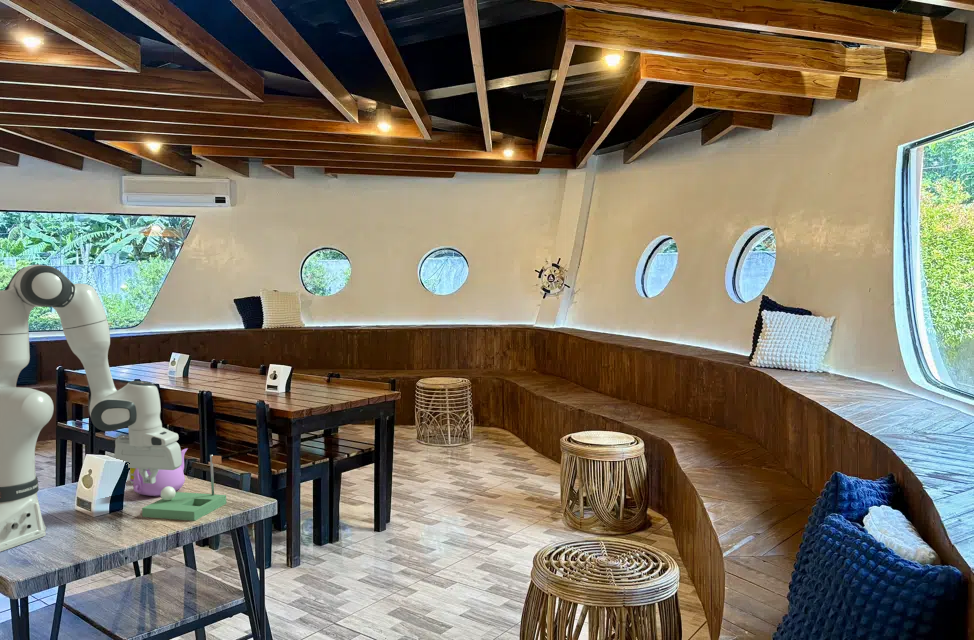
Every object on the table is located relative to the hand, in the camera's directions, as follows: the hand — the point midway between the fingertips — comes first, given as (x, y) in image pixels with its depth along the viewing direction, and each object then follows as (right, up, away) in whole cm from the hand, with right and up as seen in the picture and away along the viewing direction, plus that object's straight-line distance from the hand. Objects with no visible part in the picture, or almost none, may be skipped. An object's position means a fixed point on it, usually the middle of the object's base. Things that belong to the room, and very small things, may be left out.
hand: (149, 482), depth 213 cm
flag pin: (+19, -4, +2) cm, 20 cm away
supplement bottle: (-15, -6, +26) cm, 30 cm away
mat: (+12, -7, -3) cm, 14 cm away
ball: (+6, -3, -2) cm, 7 cm away
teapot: (-3, -6, +16) cm, 17 cm away
